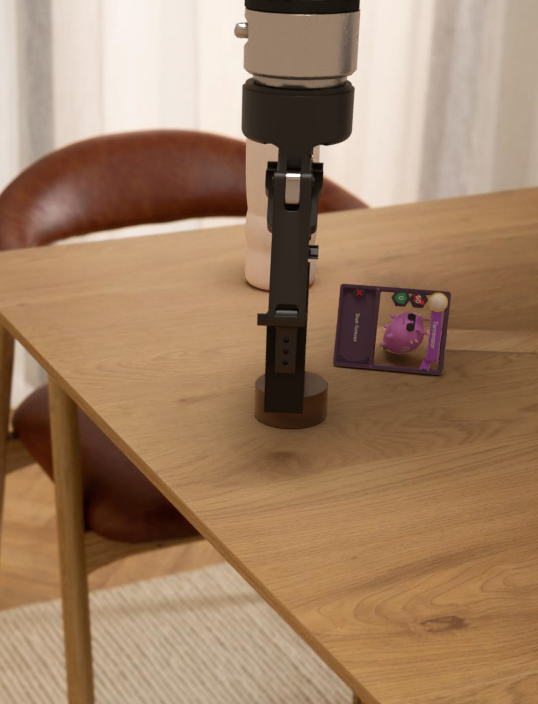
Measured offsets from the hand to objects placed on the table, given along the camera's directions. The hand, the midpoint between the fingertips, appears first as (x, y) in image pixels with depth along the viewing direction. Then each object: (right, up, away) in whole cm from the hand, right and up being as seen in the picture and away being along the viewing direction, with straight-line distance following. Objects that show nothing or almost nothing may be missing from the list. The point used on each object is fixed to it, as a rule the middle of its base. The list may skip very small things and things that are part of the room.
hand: (286, 374), depth 89 cm
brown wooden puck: (0, -3, +1) cm, 3 cm away
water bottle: (+1, +12, +30) cm, 32 cm away
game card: (+9, +2, +11) cm, 15 cm away
